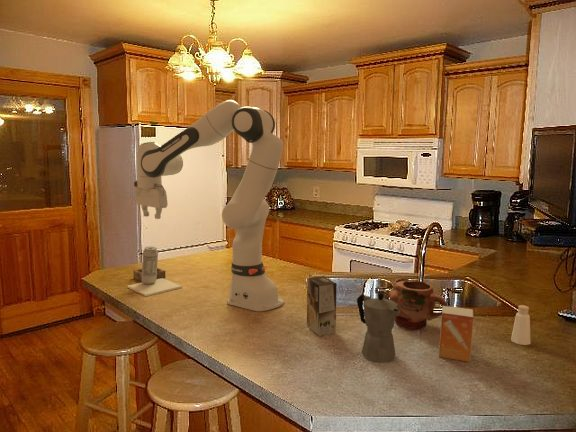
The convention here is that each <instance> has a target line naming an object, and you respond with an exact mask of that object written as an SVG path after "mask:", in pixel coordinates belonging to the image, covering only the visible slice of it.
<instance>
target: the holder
mask: <svg viewBox="0 0 576 432" xmlns="http://www.w3.org/2000/svg"><path fill="white" fill-rule="evenodd" d="M132 272H133V279H135V280H137V281H138V282H140V283H142V281H141V279H142V268H141V269H136V270H135V269H134V270H133V271H132ZM166 276H167V275H166V270H164V269H161V268H159V267H157V278H156V279H160V278H164V279H166Z"/></svg>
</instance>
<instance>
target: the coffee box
mask: <svg viewBox="0 0 576 432" xmlns="http://www.w3.org/2000/svg"><path fill="white" fill-rule="evenodd" d="M306 285H307V286H306V296H307V297H306V326H307V327H308V328H309V330H311V331H312V332H314V333H315V334H316V335H317V336H319V337H321V336H324V335H329V334H335V333H337V332H336V331H337V330H336V329H337V327H336V326H337V282H335V281H333V280H331V279H330V278H328V277H326V276H325V275H322V276H313V277H309V278H308V277H307V279H306Z"/></svg>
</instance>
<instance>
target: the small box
mask: <svg viewBox="0 0 576 432" xmlns="http://www.w3.org/2000/svg"><path fill="white" fill-rule="evenodd" d="M441 309H442V310H441V312H442V315H441V320H440V335H439V351H438V358H443V359H444V358H445V359H448V360H449V359H451V360H456V361H462V362H467V363H470V362H471V354H472V353H471V351H472V340H473V339H472V338H473V326H474V309H471V308H463V307H457V306H456V307H455V306H449V305H447V306H443V308H441Z"/></svg>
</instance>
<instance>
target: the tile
mask: <svg viewBox="0 0 576 432" xmlns="http://www.w3.org/2000/svg"><path fill="white" fill-rule="evenodd" d="M127 289H130V290H132V291H133V292H136V293H138V294H140V295H141V296H143V297H151V296H154V295H158V294H162V293H166V292H171V291H175V290H179V289H183V285H181V284H178V283H177V282H176V283H175V282H173V281H171V280H169V279H166V278H165V279H164V278H160V279H156V282H155V283H154V284H149V285H148V284H144V283H143V282H137V283H133V284H129V285H127Z"/></svg>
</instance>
